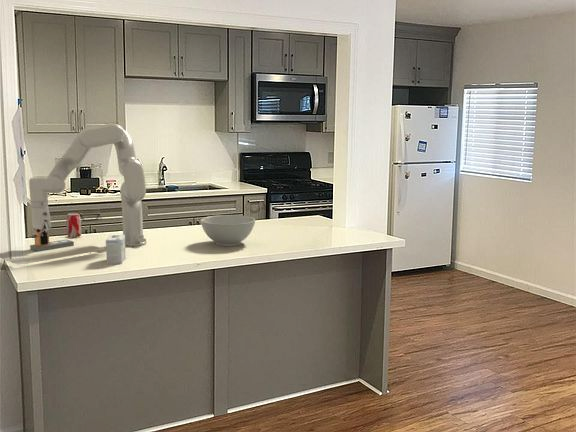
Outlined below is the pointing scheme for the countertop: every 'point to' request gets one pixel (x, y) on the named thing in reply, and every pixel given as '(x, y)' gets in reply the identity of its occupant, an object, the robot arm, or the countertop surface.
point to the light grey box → (115, 249)
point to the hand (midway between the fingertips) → (42, 243)
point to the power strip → (52, 245)
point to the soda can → (73, 225)
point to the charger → (39, 239)
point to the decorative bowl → (228, 228)
